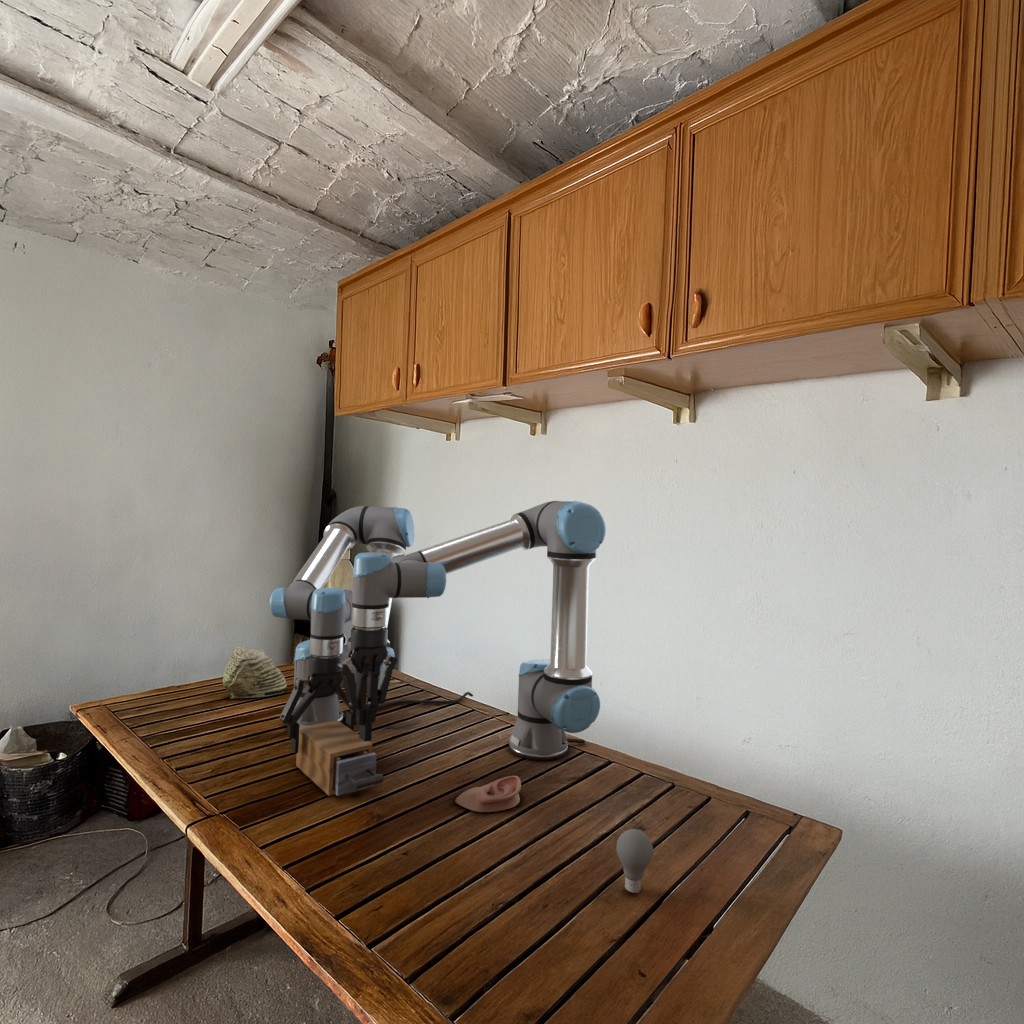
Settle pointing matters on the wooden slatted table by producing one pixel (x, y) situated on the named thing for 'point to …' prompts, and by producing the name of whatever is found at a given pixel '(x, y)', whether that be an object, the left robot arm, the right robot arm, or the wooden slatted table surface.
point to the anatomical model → (492, 795)
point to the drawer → (355, 772)
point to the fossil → (252, 674)
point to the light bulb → (634, 857)
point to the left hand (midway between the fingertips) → (322, 745)
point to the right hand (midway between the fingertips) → (365, 738)
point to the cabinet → (326, 751)
